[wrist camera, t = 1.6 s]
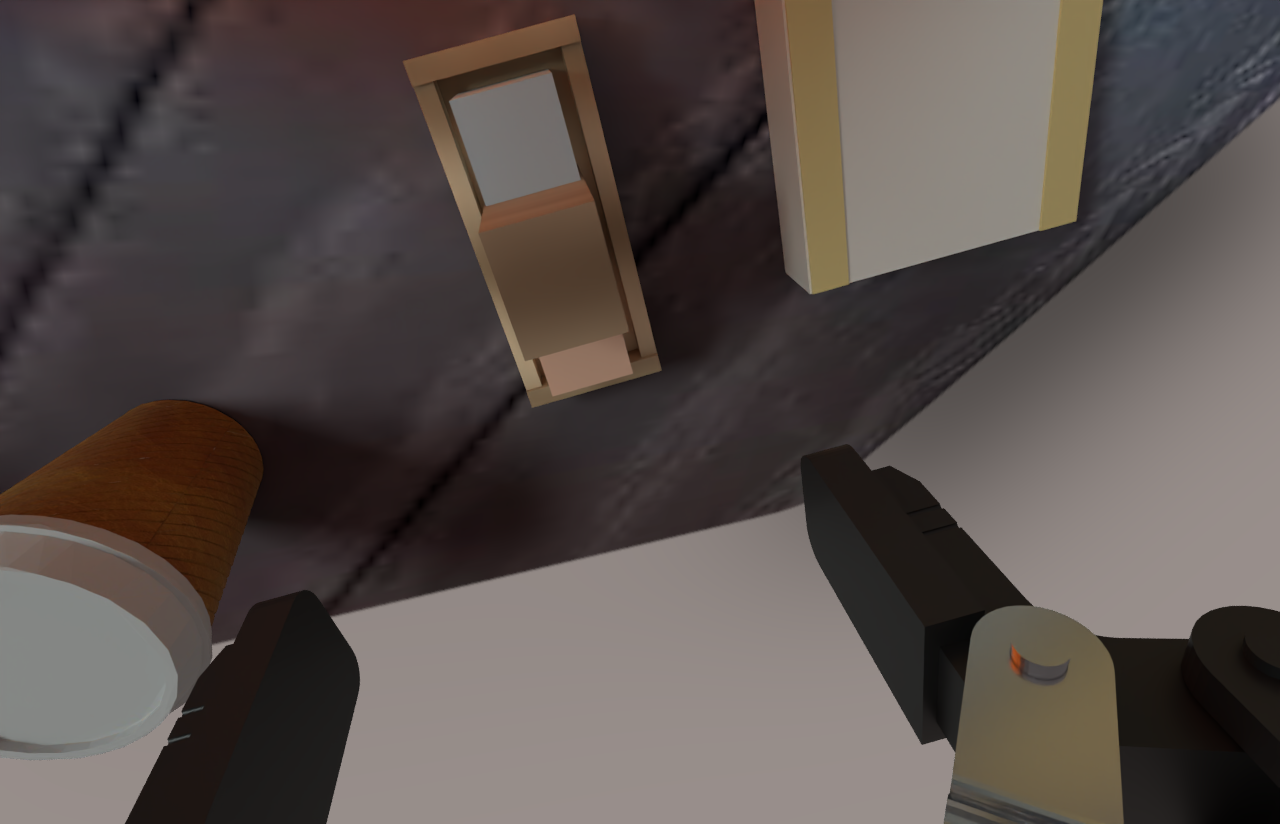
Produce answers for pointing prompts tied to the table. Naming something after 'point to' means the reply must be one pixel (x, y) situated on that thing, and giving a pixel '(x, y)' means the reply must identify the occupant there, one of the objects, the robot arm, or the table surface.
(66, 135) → the table surface
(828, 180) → the strip
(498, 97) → the block
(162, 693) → the disposable coffee cup
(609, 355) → the block
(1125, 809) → the robot arm
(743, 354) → the table surface
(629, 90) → the table surface
